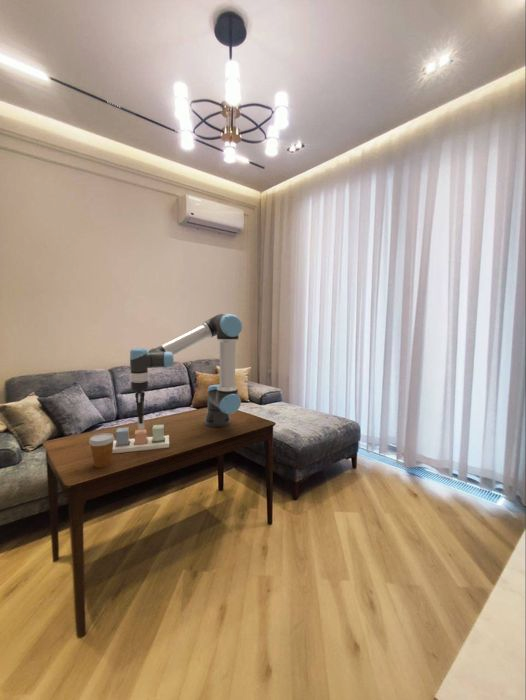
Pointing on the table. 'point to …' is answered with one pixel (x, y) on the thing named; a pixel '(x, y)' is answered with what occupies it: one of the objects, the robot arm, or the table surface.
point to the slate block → (122, 435)
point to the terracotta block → (140, 437)
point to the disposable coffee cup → (102, 449)
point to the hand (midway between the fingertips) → (141, 428)
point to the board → (148, 446)
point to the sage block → (158, 432)
